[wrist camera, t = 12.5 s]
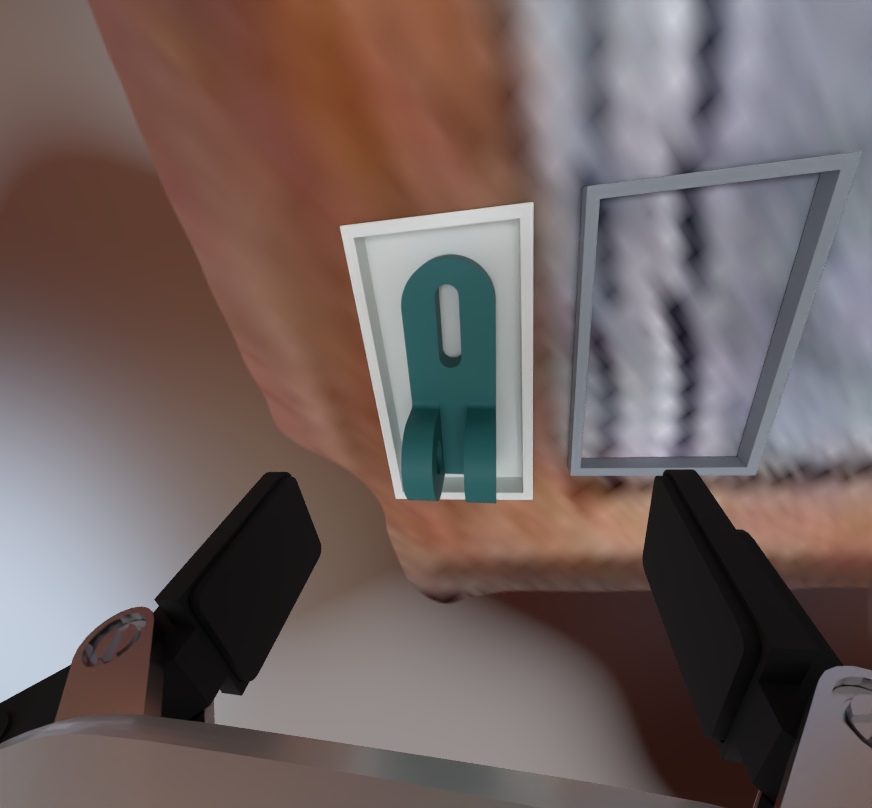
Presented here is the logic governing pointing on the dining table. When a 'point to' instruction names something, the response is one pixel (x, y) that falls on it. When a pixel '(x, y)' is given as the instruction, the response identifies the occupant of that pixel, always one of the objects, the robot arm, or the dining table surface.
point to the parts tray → (450, 323)
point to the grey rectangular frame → (787, 330)
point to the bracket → (450, 383)
